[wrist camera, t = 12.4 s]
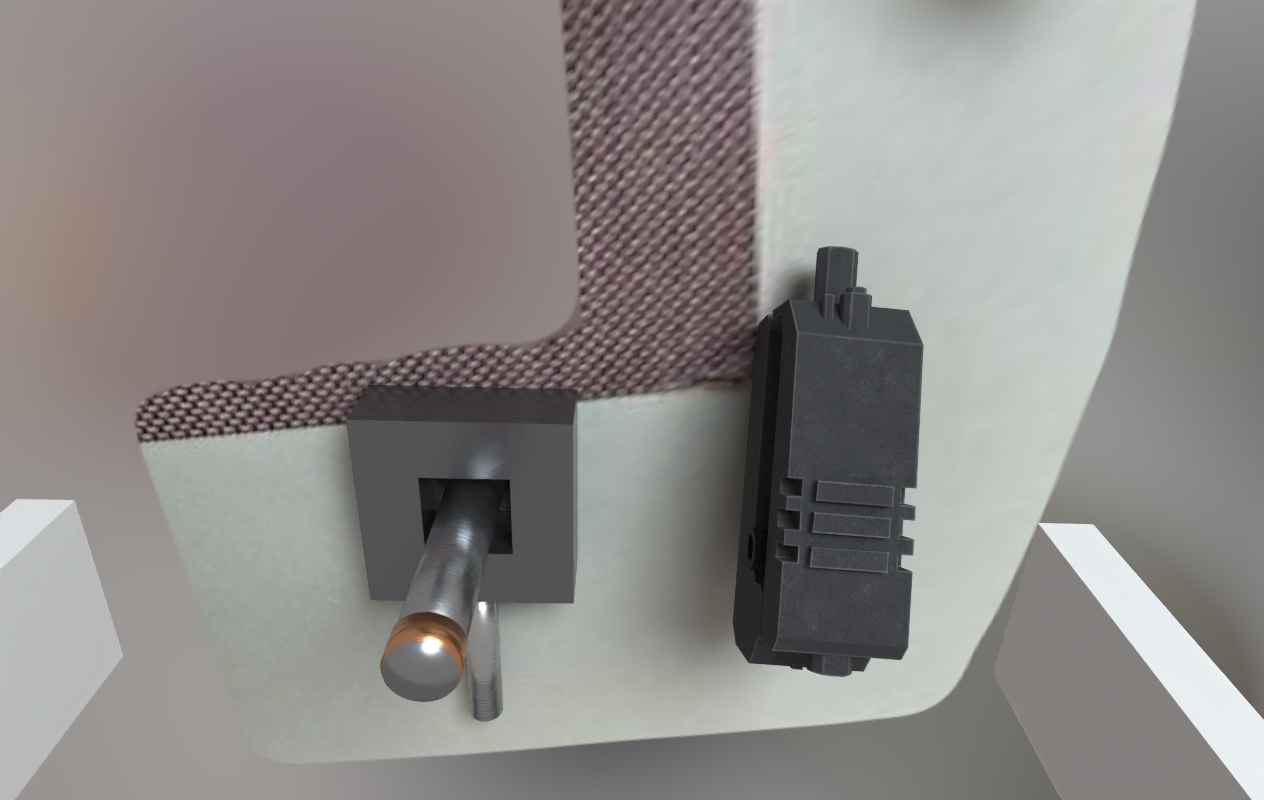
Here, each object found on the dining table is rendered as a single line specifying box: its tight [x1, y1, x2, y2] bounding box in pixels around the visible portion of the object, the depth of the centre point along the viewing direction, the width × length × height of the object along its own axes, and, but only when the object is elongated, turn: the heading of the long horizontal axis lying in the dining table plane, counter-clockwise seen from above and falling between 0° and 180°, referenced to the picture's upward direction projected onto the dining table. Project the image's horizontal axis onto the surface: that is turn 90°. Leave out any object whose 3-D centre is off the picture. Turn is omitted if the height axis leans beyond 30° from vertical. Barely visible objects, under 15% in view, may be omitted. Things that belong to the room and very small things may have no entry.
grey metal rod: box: [380, 478, 506, 702], centre depth 40 cm, size 3×3×15 cm
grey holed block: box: [346, 385, 577, 721], centre depth 47 cm, size 21×11×4 cm, turn 178°
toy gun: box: [733, 246, 923, 677], centre depth 41 cm, size 6×19×15 cm, turn 174°
